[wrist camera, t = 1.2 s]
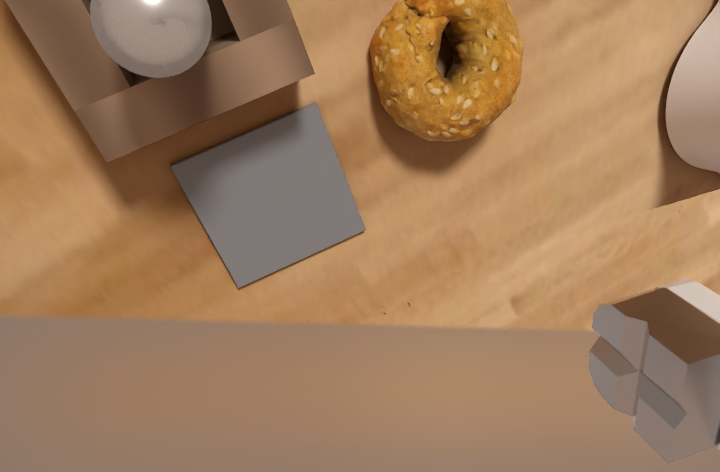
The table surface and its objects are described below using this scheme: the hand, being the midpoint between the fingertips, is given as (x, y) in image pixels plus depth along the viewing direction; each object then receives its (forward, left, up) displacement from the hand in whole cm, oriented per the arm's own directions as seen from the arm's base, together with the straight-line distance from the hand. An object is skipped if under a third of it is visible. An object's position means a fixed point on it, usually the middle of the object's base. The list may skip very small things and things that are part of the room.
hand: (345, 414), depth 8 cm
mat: (0, +10, -31) cm, 32 cm away
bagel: (-13, +5, -31) cm, 34 cm away
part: (+1, -4, -30) cm, 30 cm away
